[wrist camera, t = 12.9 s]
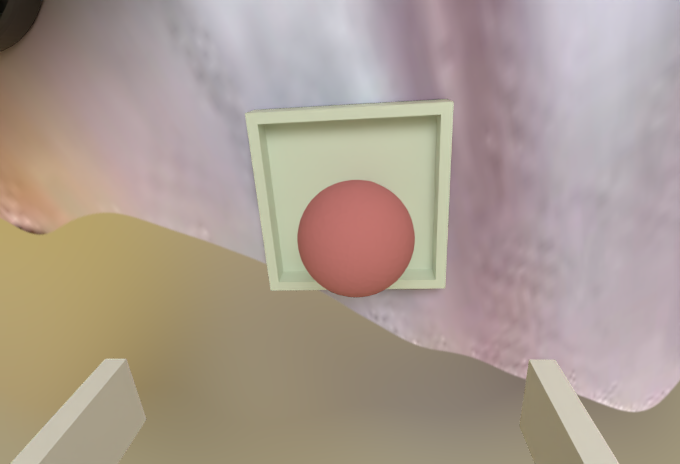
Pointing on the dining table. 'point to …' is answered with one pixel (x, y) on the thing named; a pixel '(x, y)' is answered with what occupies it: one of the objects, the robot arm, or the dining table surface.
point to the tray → (353, 176)
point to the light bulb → (356, 238)
